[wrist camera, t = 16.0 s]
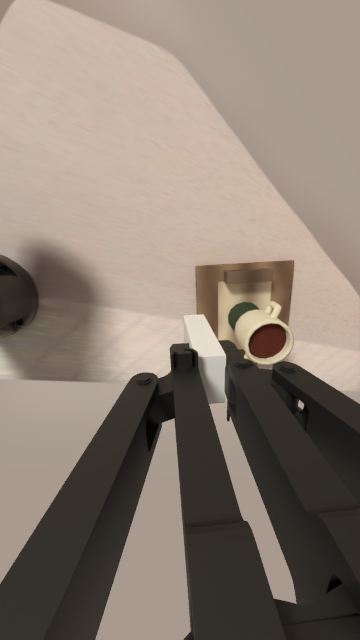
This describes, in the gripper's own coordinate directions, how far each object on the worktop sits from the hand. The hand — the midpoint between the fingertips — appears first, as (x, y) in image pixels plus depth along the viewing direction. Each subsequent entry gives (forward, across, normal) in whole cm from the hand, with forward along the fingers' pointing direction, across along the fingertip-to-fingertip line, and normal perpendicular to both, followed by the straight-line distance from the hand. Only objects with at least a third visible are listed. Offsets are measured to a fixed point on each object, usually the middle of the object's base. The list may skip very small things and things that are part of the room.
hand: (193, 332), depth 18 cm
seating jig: (+28, +13, -8) cm, 32 cm away
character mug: (+27, +13, -8) cm, 31 cm away
